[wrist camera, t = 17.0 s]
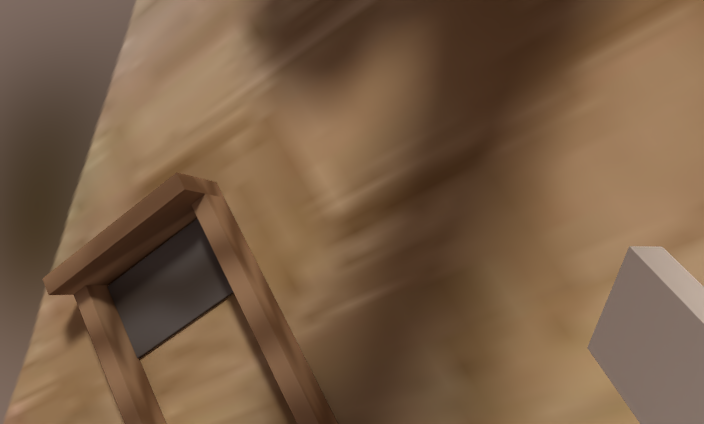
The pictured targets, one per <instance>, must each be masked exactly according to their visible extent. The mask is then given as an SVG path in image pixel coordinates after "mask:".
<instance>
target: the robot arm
mask: <svg viewBox="0 0 704 424" xmlns="http://www.w3.org/2000/svg"><path fill="white" fill-rule="evenodd" d="M587 348H588V349H589V351H590V352H591V354H592V355H593V356H594V358H595V359H596V361H597V362H598V364H599V365H600V367H601V368H602V369H603V371H604V372H605V374H606V375H607V377H608V378H609V379H610V381H611V382H612V384H613V385H614V387H615V388H616V389H617V391H618V392H619V394H620V395H621V397H622V398H623V399H624V401H625V402H626V404H627V405H628V407H629V408H630V410H631V411H632V412H633V414H634V415H635V417H636V418H637V420H638V421H639V422H640V424H704V286H702V285H701V284H700V283H699V282H698V281H697V280H696V279H695V278H694V277H693V276H692V275H691V274H690V273H689V272H688V271H687V270H686V269H685V268H684V267H683V266H682V265H681V264H680V263H679V262H678V261H677V260H675V259H674V258H673V257H672V256H671V255H670V254H669V253H668V252H667V251H666V250H665V249H664V248H663V247H649V246H629V249H628V251H627V253H626V256H625V258H624V261H623V263H622V265H621V268H620V270H619V273H618V275H617V277H616V280H615V282H614V285H613V287H612V290H611V292H610V294H609V297H608V299H607V302H606V304H605V306H604V309H603V311H602V314H601V316H600V318H599V321H598V323H597V326H596V328H595V331H594V333H593V335H592V338H591V340H590V343H589V345H588V347H587Z"/></svg>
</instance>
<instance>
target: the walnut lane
mask: <svg viewBox="0 0 704 424" xmlns="http://www.w3.org/2000/svg"><path fill="white" fill-rule="evenodd" d="M197 218H198V219H197ZM195 219H196V220H195ZM194 220H195V221H194ZM193 221H194V222H193ZM191 222H192V223H191ZM190 223H191V224H190ZM189 224H190V225H189ZM187 225H188V226H187ZM186 226H187V227H186ZM185 227H186V228H185ZM183 228H184V229H183ZM182 229H183V230H182ZM181 230H182V231H181ZM179 231H180V232H179ZM178 232H179V233H178ZM177 233H178V234H177ZM175 234H176V235H175ZM174 235H175V236H174ZM173 236H174V237H173ZM171 237H172V238H171ZM170 238H171V239H170ZM169 239H170V240H169ZM167 240H168V241H167ZM166 241H167V242H166ZM165 242H166V243H165ZM163 243H164V244H163ZM162 244H163V245H162ZM161 245H162V246H161ZM159 246H160V247H159ZM158 247H159V248H158ZM157 248H158V249H157ZM155 249H156V250H155ZM154 250H155V251H154ZM153 251H154V252H153ZM150 253H151V254H150ZM149 254H150V255H149ZM148 255H149V256H148ZM146 256H147V257H146ZM145 257H146V258H145ZM144 258H145V259H144ZM142 259H143V260H142ZM141 260H142V261H141ZM140 261H141V262H140ZM138 262H139V263H138ZM137 263H138V264H137ZM136 264H137V265H136ZM134 265H135V266H134ZM133 266H134V267H133ZM132 267H133V268H132ZM130 268H131V269H130ZM129 269H130V270H129ZM128 270H129V271H128ZM126 271H127V272H126ZM125 272H126V273H125ZM124 273H125V274H124ZM122 274H123V275H122ZM121 275H122V276H121ZM120 276H121V277H120ZM118 277H119V278H118ZM117 278H118V279H117ZM116 279H117V280H116ZM114 280H115V281H114ZM43 281H44V284H45V287H46V289H47V292H48V294H49V295H74V297H75V299H76V302H77V304H78V307H79V309H80V312H81V314H82V317H83V319H84V322H85V324H86V327H87V329H88V332H89V334H90V337H91V340H92V342H93V345H94V347H95V350H96V352H97V355H98V357H99V360H100V362H101V365H102V367H103V370H104V372H105V375H106V377H107V380H108V382H109V385H110V387H111V390H112V392H113V395H114V397H115V400H116V402H117V405H118V407H119V410H120V412H121V415H122V417H123V420H124V422H125V424H166V422H165V419H164V417H163V415H162V412H161V410H160V407H159V405H158V403H157V400H156V398H155V396H154V393H153V391H152V388H151V386H150V384H149V381H148V379H147V376H146V374H145V372H144V369H143V367H142V364H141V362H140V360H139V358H140V357H142V356H143V355H145V354H146V353H147V352H149V351H150V350H152V349H153V348H155V347H156V346H157V345H159V344H160V343H162V342H163V341H165V340H166V339H168V338H169V337H170V336H172V335H173V334H175V333H176V332H178V331H179V330H180V329H182V328H183V327H185V326H186V325H188V324H189V323H190V322H192V321H193V320H195V319H196V318H198V317H199V316H201V315H202V314H203V313H205V312H206V311H208V310H209V309H211V308H212V307H213V306H215V305H216V304H218V303H219V302H221V301H222V300H224V299H225V298H226V297H228V296H229V295H231V294H232V293H234V294H235V296H236V298H237V300H238V302H239V304H240V307H241V309H242V311H243V313H244V315H245V317H246V319H247V321H248V323H249V325H250V327H251V329H252V331H253V333H254V335H255V338H256V340H257V342H258V344H259V346H260V348H261V350H262V352H263V354H264V356H265V358H266V360H267V362H268V364H269V366H270V369H271V371H272V373H273V375H274V377H275V379H276V381H277V383H278V385H279V387H280V389H281V391H282V393H283V395H284V397H285V400H286V402H287V404H288V406H289V408H290V410H291V412H292V414H293V416H294V418H295V420H296V422H297V424H338V423H337V421H336V419H335V417H334V415H333V413H332V411H331V409H330V407H329V405H328V403H327V401H326V399H325V397H324V395H323V393H322V391H321V389H320V387H319V385H318V383H317V381H316V379H315V377H314V375H313V373H312V371H311V369H310V367H309V365H308V363H307V361H306V359H305V357H304V355H303V353H302V351H301V349H300V347H299V345H298V343H297V342H296V340H295V338H294V336H293V334H292V332H291V330H290V328H289V326H288V324H287V322H286V320H285V318H284V316H283V314H282V312H281V310H280V308H279V306H278V304H277V302H276V300H275V298H274V296H273V294H272V292H271V290H270V288H269V286H268V284H267V282H266V280H265V278H264V276H263V274H262V272H261V270H260V268H259V266H258V264H257V262H256V260H255V258H254V256H253V254H252V252H251V250H250V248H249V246H248V244H247V242H246V240H245V238H244V236H243V234H242V232H241V230H240V228H239V226H238V224H237V222H236V221H235V219H234V217H233V215H232V213H231V211H230V209H229V207H228V205H227V203H226V201H225V199H224V197H223V195H222V193H221V191H220V189H219V187H218V185H217V183H216V182H212V181H208V180H204V179H201V178H197V177H193V176H189V175H185V174H181V173H175V174H174V175H173V176H172V177H170V178H169V179H168V180H167V181H165V182H164V183H163V184H161V185H160V186H159V187H158V188H156V189H155V190H154V191H153V192H151V193H150V194H149V195H148V196H146V197H145V198H144V199H143V200H141V201H140V202H139V203H137V204H136V205H135V206H134V207H132V208H131V209H130V210H129V211H127V212H126V213H125V214H124V215H122V216H121V217H120V218H119V219H117V220H116V221H115V222H113V223H112V224H111V225H110V226H108V227H107V228H106V229H105V230H103V231H102V232H101V233H100V234H98V235H97V236H96V237H95V238H93V239H92V240H91V241H89V242H88V243H87V244H86V245H84V246H83V247H82V248H81V249H79V250H78V251H77V252H76V253H74V254H73V255H72V256H71V257H69V258H68V259H67V260H65V261H64V262H63V263H62V264H60V265H59V266H58V267H57V268H55V269H54V270H53V271H52V272H50V273H49V274H48V275H47V276H46V277H44V278H43ZM113 281H114V282H113ZM112 282H113V283H112ZM110 283H111V284H110ZM109 284H110V285H109ZM108 285H109V286H108Z"/></svg>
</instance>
